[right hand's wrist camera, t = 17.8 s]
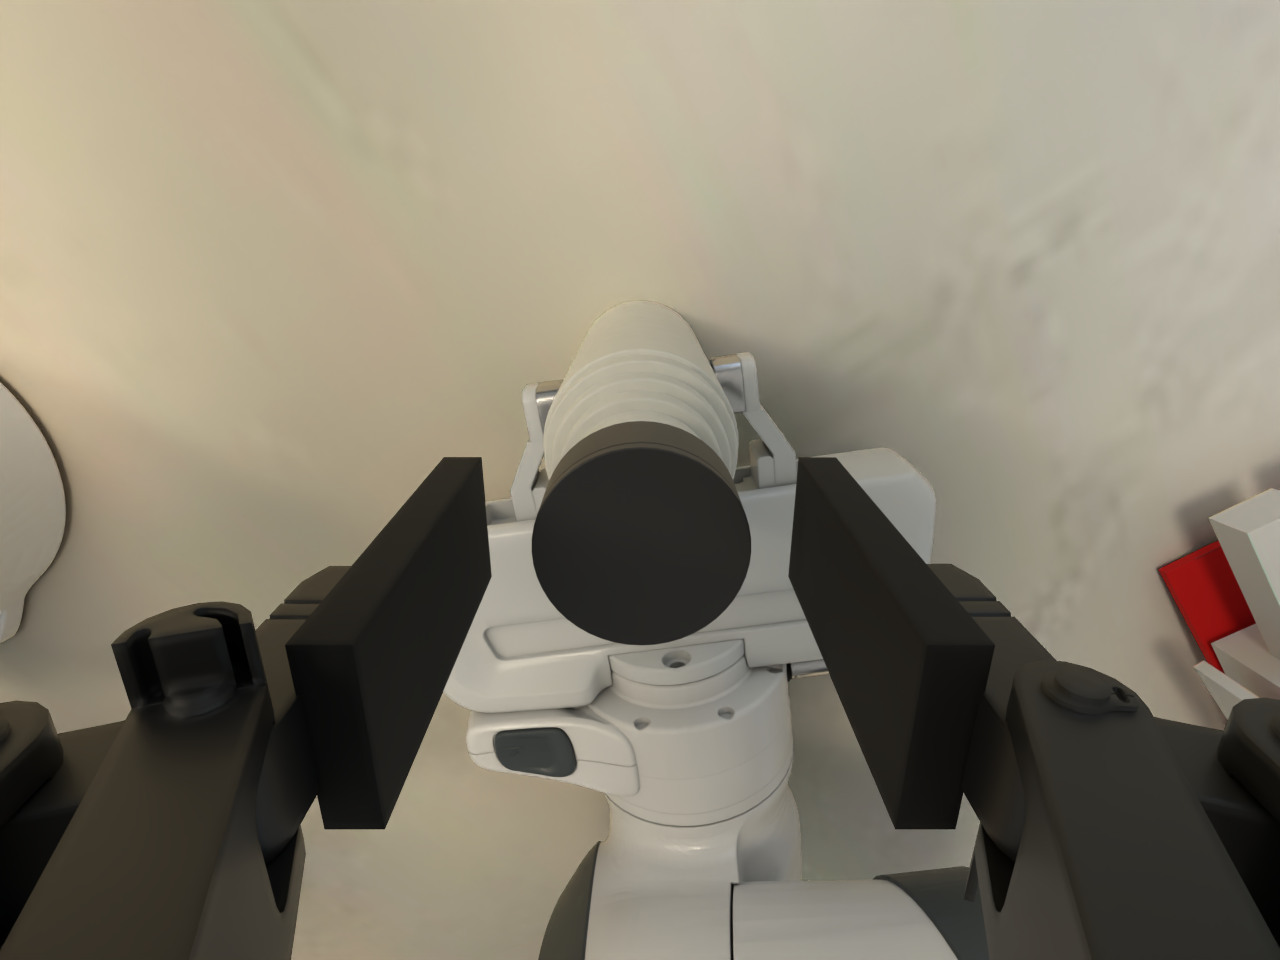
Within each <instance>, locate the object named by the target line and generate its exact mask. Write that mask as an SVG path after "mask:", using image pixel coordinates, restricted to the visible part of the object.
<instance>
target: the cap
mask: <svg viewBox="0 0 1280 960" xmlns="http://www.w3.org/2000/svg"><path fill="white" fill-rule="evenodd" d="M750 558H751V534H750V528H749V524H748V520H747V517H746V514H745V511H744V508H743V506H742V503H741V500H740V497H739V495H738V492H737V489H736V487H735V484H734V481H733V479H732V477H731V475H730V473H729V470H728V469H727V467H726V466H725V464H724V463H723V461H722V460H721V458H720V457H719V456H718V455H717V454H716V453H715V451H714V450H713V449H712V448H710V447H709V446H708V445H707V444H706V443H705V442H703V441H702V440H700V439H699V438H697V437H696V436H694V435H693V434H691V433H689V432H687V431H685V430H683V429H680V428H677V427H674V426H671V425H668V424H663V423H658V422H650V421H633V422H624V423H619V424H614V425H611V426H608V427H605V428H602V429H600V430H598V431H596V432H594V433H592V434H590V435H588V436H587V437H585V438H584V439H582V440H581V441H579V442H578V443H577V444H576V445H575V446H573V447H572V448H571V449H570V450H569V451H568V452H567V453H566V454H565V456H564V457H563V458H562V459H561V460H560V462H559V463H558V465H557V466H556V468H555V469H554V472H553V474H552V476H551V478H550V480H549V483H548V485H547V488H546V491H545V494H544V497H543V499H542V502H541V505H540V508H539V511H538V514H537V517H536V520H535V523H534V527H533V533H532V559H533V565H534V569H535V572H536V576H537V578H538V581H539V583H540V585H541V588H542V589H543V591H544V593H545V594H546V596H547V598H548V599H549V601H550V602H551V603H552V604H553V606H554V607H555V608H556V609H557V610H558V611H559V612H560V613H561V614H562V615H563V616H564V617H565V618H566V619H567V620H569V621H570V622H571V623H573V624H574V625H575V626H577V627H578V628H580V629H582V630H584V631H585V632H587V633H589V634H591V635H594V636H596V637H599V638H601V639H604V640H608V641H611V642H615V643H620V644H626V645H656V644H662V643H668V642H672V641H675V640H679V639H682V638H684V637H687V636H689V635H691V634H694V633H695V632H697V631H699V630H701V629H703V628H704V627H706V626H707V625H709V624H710V623H711V622H713V621H714V620H715V619H717V618H718V617H719V616H720V615H721V614H722V613H723V612H724V611H725V610H726V609H727V608H728V606H729V605H730V604H731V603H732V602H733V600H734V599H735V597H736V596H737V594H738V592H739V591H740V589H741V587H742V585H743V582H744V580H745V578H746V575H747V572H748V568H749V565H750Z"/></svg>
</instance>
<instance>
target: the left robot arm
mask: <svg viewBox="0 0 1280 960" xmlns="http://www.w3.org/2000/svg"><path fill="white" fill-rule="evenodd" d="M710 365H711V367H712V369H713V371H714V373H715V375H716V377H717V379H718V381H719V383H720V385H721V387H722V389H723V391H724V393H725V395H726V397H727V399H728V401H729V403H730V405H731V407H732V409H733V413H736V412H742V414H743V415H744V416H745V418H746V419H747V420H748V422H749V423H750V424H751V426H752V427H753V428H754V430H755V431H756V432H757V434H758V435H759V436H760V438H761V439H762V440H763V441H762V440H761V439H757V440H751V441H750V442H749V455H750V465H748V466H740V467H736V471H735V475H734V479H733V481H734V484H735V487H736V489H737V492H738V495H739V497H740V500H741V503H742V506H743V508H744V511H745V514H746V517H747V520H748V524H749V528H750V534H751V558H750V565H749V568H748V572H747V575H746V578H745V580H744V582H743V585H742V587H741V589H740V591H739V592H738V594H737V596H736V597H735V599H734V600H733V602H732V603H731V604H730V605H729V606H728V608H727V609H726V610H725V611H724V612H723V613H722V614H721V615H720V616H719V617H718V618H717V619H715V620H714V621H713V622H711V623H710V624H709V625H707V626H706V627H704V628H703V629H701V630H699V631H697V632H695V633H694V634H691V635H689V636H687V637H684V638H682V639H679V640H675V641H672V642H668V643H662V644H656V645H626V644H620V643H615V642H611V641H608V640H604V639H601V638H599V637H596V636H594V635H591V634H589V633H587V632H585V631H584V630H582V629H580V628H578V627H577V626H575V625H574V624H573V623H571V622H570V621H569V620H567V619H566V618H565V617H564V616H563V615H562V614H561V613H560V612H559V611H558V610H557V609H556V608H555V607H554V606H553V604H552V603H551V602H550V601H549V599H548V598H547V596H546V594H545V593H544V591H543V589H542V588H541V585H540V583H539V581H538V578H537V576H536V572H535V569H534V565H533V559H532V533H533V527H534V523H535V520H536V517H537V514H538V511H539V508H540V505H541V502H542V499H543V497H544V494H545V491H546V488H547V485H548V483H549V479H548V475H547V472H546V469H542V470H541V472H540V471H539V467H540V465H541V462H542V459H543V456H544V449H543V435H544V428H545V422H546V419H547V415H548V411H549V409H550V407H551V405H552V402H553V400H554V398H555V396H556V394H557V392H558V390H559V388H560V386H561V384H562V382H563V380H564V379H563V380H555V381H547V382H538V383H532V384H527V385H526V386H525V388H524V389H523V390H522V403H523V408H524V413H525V418H526V423H527V427H528V432H529V437H530V438H529V440H528V442H527V444H526V447H525V450H524V453H523V456H522V458H521V461H520V464H519V467H518V470H517V473H516V475H515V478H514V481H513V484H512V487H511V489H510V494H511V498H506V499H499V500H492V501H485V505H486V516H487V528H488V539H489V551H490V562H491V574H492V577H491V580H490V582H489V584H488V587H487V589H486V591H485V594H484V596H483V598H482V601H481V603H480V605H479V608H478V610H477V613H476V615H475V617H474V620H473V622H472V624H471V627H470V629H469V631H468V634H467V636H466V639H465V641H464V643H463V646H462V648H461V650H460V653H459V655H458V657H457V660H456V662H455V665H454V667H453V669H452V672H451V674H450V676H449V679H448V681H447V683H446V686H445V688H444V691H443V693H444V694H445V695H446V696H447V697H448V698H449V699H451V700H452V701H453V702H455V703H456V704H458V705H460V706H461V707H464V708H466V709H469V710H470V715H469V720H468V726H467V733H466V744H467V748H468V752H469V755H470V757H471V759H472V760H473V762H474V763H475V764H476V765H478V766H479V767H481V768H484V769H487V770H490V771H496V772H502V773H510V774H518V775H525V776H532V777H538V778H544V779H550V780H555V781H560V782H565V783H570V784H574V785H578V786H582V787H586V788H589V789H592V790H596V791H599V792H602V793H604V795H605V797H606V799H607V801H608V804H609V808H610V828H609V836H608V838H607V839H606V840H605V841H604V842H600V841H599V842H598V843H597V844H596V845H595V846H594V847H593V848H592V849H591V850H590V851H589V853H588V854H587V855H586V857H585V858H584V859H583V861H582V862H581V864H580V865H579V867H578V868H577V870H576V872H575V873H574V875H573V876H572V878H571V880H570V881H569V883H568V885H567V886H566V888H565V890H564V891H563V893H562V894H561V896H560V898H559V900H558V902H557V904H556V906H555V908H554V910H553V913H552V915H551V918H550V920H549V923H548V926H547V929H546V932H545V935H544V939H543V942H542V946H541V950H540V955H539V959H538V960H989V953H988V946H987V939H986V932H985V924H984V917H983V910H982V903H981V896H980V889H979V886H978V887H977V890H976V895H975V899H974V902H971V901H968V900H964V894H965V887H966V881H967V877H968V873H969V868H968V867H964V866H961V867H952V868H943V869H934V870H925V871H916V872H907V873H898V874H888V875H880V876H876V877H875V878H874V879H872V880H808V881H802V852H801V833H800V821H799V814H798V809H797V806H796V802H795V799H794V796H793V794H792V792H791V790H790V788H789V786H788V781H789V778H790V775H791V771H792V764H793V736H792V724H791V712H790V700H789V690H788V681H790V679H795V678H796V679H797V678H805V677H813V676H821V675H827V674H829V672H828V669H827V667H826V665H825V662H824V660H823V657H822V655H821V653H820V650H819V648H818V646H817V643H816V641H815V639H814V636H813V634H812V631H811V629H810V627H809V624H808V622H807V620H806V617H805V615H804V613H803V610H802V608H801V605H800V603H799V601H798V598H797V596H796V594H795V591H794V589H793V587H792V584H791V582H790V580H789V577H788V574H789V562H790V551H791V539H792V528H793V516H794V505H795V493H796V482H797V470H798V459H796V453H795V451H794V449H793V448H792V446H791V445H790V444H789V442H788V441H787V439H786V438H785V436H784V435H783V433H782V432H781V431H780V429H779V428H778V427H777V425H776V424H775V423H774V421H773V420H772V418H771V417H770V416H769V414H768V413H767V412H766V410H765V409H764V408H763V406H762V405H761V404H760V401H759V389H758V378H757V368H756V363H755V359H754V357H753V355H752V354H751V353H750V352H746V353H739V354H732V355H726V356H719V357H713V358H710ZM813 457H836V458H837V459H838V460H839V461H840V463H841V464H842V465H843V466H844V467H845V469H846V470H847V471H848V472H849V473H850V474H851V476H852V477H853V478H854V479H855V480H856V482H857V483H858V484H859V485H860V486H861V487H862V489H863V490H864V491H865V492H866V493H867V494H868V496H869V497H870V498H871V499H872V500H873V502H874V503H875V504H876V505H877V506H878V507H879V509H880V510H881V511H882V512H883V513H884V515H885V516H886V517H887V518H888V519H889V520H890V522H891V523H892V524H893V525H894V526H895V527H896V529H897V530H898V531H899V532H900V533H901V535H902V536H903V537H904V538H905V539H906V540H907V542H908V543H909V544H910V545H911V546H912V548H913V549H914V550H915V551H916V552H917V553H918V555H919V556H920V557H921V558H922V559H923V560H924V562H925V563H926V564H930V562H931V555H932V549H933V540H934V531H935V518H936V496H935V493H934V490H933V488H932V486H931V484H930V483H929V482H928V480H927V479H926V478H925V477H924V476H923V475H922V474H921V473H920V472H919V471H918V470H917V469H916V468H915V467H914V466H913V465H912V464H911V463H910V462H908V461H907V460H906V459H904V458H903V457H901V456H900V455H899V454H897V453H896V452H895V451H893V450H891V449H889V448H884V447H881V448H872V449H864V450H857V451H850V452H843V453H835V454H828V455H821V456H813ZM65 521H66V503H65V494H64V489H63V484H62V480H61V476H60V473H59V469H58V467H57V464H56V461H55V459H54V456H53V454H52V452H51V450H50V448H49V446H48V444H47V442H46V440H45V438H44V436H43V435H42V433H41V431H40V430H39V428H38V426H37V425H36V423H35V422H34V420H33V419H32V418H31V416H30V415H29V414H28V412H27V411H26V410H25V408H24V407H23V406H22V405H21V403H20V402H19V401H18V400H17V399H16V398H15V396H14V395H13V394H12V393H11V392H10V391H9V390H8V389H7V388H6V387H5V386H4V385H3V384H2V383H1V382H0V643H2V642H4V641H5V640H7V639H9V638H11V637H13V636H14V635H15V634H16V632H17V631H18V628H19V626H20V622H21V619H22V613H23V607H24V600H25V596H26V594H27V592H28V590H29V589H30V588H31V586H32V585H33V584H34V583H35V582H36V581H37V580H38V579H39V578H40V576H41V575H42V574H43V573H44V572H45V571H46V570H47V568H48V567H49V566H50V564H51V563H52V561H53V560H54V558H55V556H56V554H57V552H58V550H59V547H60V544H61V542H62V538H63V534H64V529H65Z"/></svg>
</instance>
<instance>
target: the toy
mask: <svg viewBox="0 0 1280 960" xmlns="http://www.w3.org/2000/svg"><path fill="white" fill-rule="evenodd" d="M1208 519H1209V521H1210V523H1211V525H1212V527H1213V530H1214V532H1215V534H1216V536H1217V538H1218V540H1217V541H1215V542H1213V543H1211V544H1209V545H1207V546H1205V547H1203V548H1201V549H1199V550H1197V551H1195V552H1193V553H1191V554H1189V555H1187V556H1185V557H1183V558H1181V559H1178V560H1176V561H1174V562H1172V563H1170V564H1168V565H1166V566H1164V567H1162V568H1160V569H1158V570H1159V572H1160V574H1161V576H1162V578H1163V579H1164V581H1165V583H1166V585H1167V587H1168V589H1169V591H1170V593H1171V594H1172V596H1173V598H1174V600H1175V602H1176V604H1177V606H1178V608H1179V610H1180V611H1181V613H1182V615H1183V617H1184V619H1185V621H1186V623H1187V625H1188V627H1189V628H1190V630H1191V632H1192V634H1193V636H1194V638H1195V640H1196V642H1197V644H1198V645H1199V647H1200V649H1201V651H1202V653H1203V655H1204V657H1205V659H1206V661H1207V662H1208V663H1207V662H1206V661H1204V660H1203V661H1202V662H1200V663H1198V664H1196V665H1195V666H1193V667H1194V669H1195V670H1196V672H1197V674H1198V675H1199V677H1200V678H1201V680H1202V681H1203V683H1204V684H1205V686H1206V688H1207V689H1208V691H1209V692H1210V694H1211V695H1212V697H1213V698H1214V700H1215V702H1216V703H1217V705H1218V706H1219V708H1220V709H1221V711H1222V712H1223V714H1224V716H1225V717H1226V719H1227V720H1228V718H1229V716H1230V713H1231V711H1232V708H1233V706H1235V705H1236V704H1238V703H1239V702H1241V701H1242V700H1244V699H1253V698H1271V699H1278V700H1280V491H1279V490H1276V489H1273V488H1270V489H1268V490H1266V491H1264V492H1262V493H1260V494H1257V495H1255V496H1253V497H1251V498H1249V499H1247V500H1245V501H1243V502H1241V503H1238V504H1236V505H1234V506H1232V507H1230V508H1228V509H1226V510H1224V511H1221V512H1219V513H1217V514H1215V515H1213V516H1211V517H1209V518H1208Z"/></svg>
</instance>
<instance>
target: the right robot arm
mask: <svg viewBox="0 0 1280 960" xmlns="http://www.w3.org/2000/svg"><path fill="white" fill-rule="evenodd" d="M491 577H492V574H491V562H490V551H489V539H488V528H487V516H486V505H485V493H484V482H483V470H482V459H481V457H444V458H443V459H442V460H441V461H440V463H439V464H438V465H437V466H436V467H435V469H434V470H433V471H432V472H431V473H430V474H429V476H428V477H427V478H426V479H425V480H424V482H423V483H422V484H421V485H420V486H419V487H418V489H417V490H416V491H415V492H414V493H413V494H412V496H411V497H410V498H409V499H408V500H407V502H406V503H405V504H404V505H403V506H402V507H401V509H400V510H399V511H398V512H397V513H396V515H395V516H394V517H393V518H392V519H391V520H390V522H389V523H388V524H387V525H386V526H385V527H384V529H383V530H382V531H381V532H380V533H379V535H378V536H377V537H376V538H375V539H374V540H373V542H372V543H371V544H370V545H369V546H368V548H367V549H366V550H365V551H364V552H363V553H362V555H361V556H360V557H359V558H358V559H357V560H356V562H355V563H354V564H353V565H352V566H329V567H327V568H325V569H324V570H322V571H320V572H318V573H317V574H315V575H313V576H311V577H309V578H308V579H306V580H304V581H302V582H301V583H300V584H299V585H298V586H297V587H296V589H295V590H294V591H293V592H292V593H291V594H290V595H289V596H288V597H287V598H286V599H285V600H284V601H285V602H284V604H280V605H279V606H278V607H277V608H276V610H275V611H274V612H273V613H272V614H271V615H270V619H266V620H265V621H264V622H263V623H262V624H261V625H260V626H259V627H258V628H257V630H256V631H255V628H254V623H253V619H252V615H251V612H250V611H249V610H248V609H246V608H245V607H243V606H242V605H240V604H234V603H228V602H208V603H197V604H193V605H188V606H184V607H179V608H175V609H171V610H169V611H166V612H163V613H161V614H158V615H155V616H152V617H150V618H147V619H145V620H144V621H142V622H140V623H138V624H137V625H135V626H133V627H131V628H130V629H128V630H126V631H125V632H124V633H123V634H122V635H121V636H119V637H118V638H117V639H116V640H115V641H114V642H113V643H112V644H111V646H112V649H113V652H114V655H115V658H116V661H117V665H118V668H119V671H120V674H121V677H122V680H123V683H124V686H125V689H126V692H127V696H128V699H129V702H130V705H131V708H132V709H131V711H130V713H129V715H128V717H127V718H126V720H125V721H121V722H116V723H111V724H106V725H101V726H96V727H91V728H86V729H81V730H75V731H70V732H65V733H60V734H57V732H56V729H55V726H54V724H53V721H52V719H51V716H50V713H49V711H48V709H46V708H45V707H43V706H42V705H40V704H39V703H37V702H25V701H12V702H5V703H0V960H291V955H292V948H293V941H294V933H295V926H296V919H297V912H298V905H299V898H300V891H301V884H302V877H303V870H304V863H305V855H306V853H305V845H304V838H303V834H302V830H301V825H300V824H301V822H302V820H303V819H304V817H305V815H306V813H307V812H308V810H309V808H310V806H311V804H312V803H313V801H314V799H315V797H316V796H318V801H319V805H320V810H321V815H322V819H323V824H324V828H325V829H385V828H386V825H387V823H388V820H389V818H390V816H391V813H392V811H393V809H394V806H395V804H396V802H397V799H398V797H399V794H400V792H401V790H402V787H403V785H404V783H405V780H406V778H407V776H408V773H409V771H410V768H411V766H412V764H413V761H414V759H415V757H416V754H417V752H418V750H419V747H420V745H421V742H422V740H423V738H424V735H425V733H426V731H427V728H428V726H429V724H430V721H431V719H432V717H433V714H434V712H435V709H436V707H437V705H438V702H439V700H440V698H441V695H442V693H443V691H444V688H445V686H446V683H447V681H448V679H449V676H450V674H451V672H452V669H453V667H454V665H455V662H456V660H457V657H458V655H459V653H460V650H461V648H462V646H463V643H464V641H465V639H466V636H467V634H468V631H469V629H470V627H471V624H472V622H473V620H474V617H475V615H476V613H477V610H478V608H479V605H480V603H481V601H482V598H483V596H484V594H485V591H486V589H487V587H488V584H489V582H490V580H491ZM788 577H789V580H790V582H791V584H792V587H793V589H794V591H795V594H796V596H797V598H798V601H799V603H800V605H801V608H802V610H803V613H804V615H805V617H806V620H807V622H808V624H809V627H810V629H811V631H812V634H813V636H814V639H815V641H816V643H817V646H818V648H819V650H820V653H821V655H822V657H823V660H824V662H825V665H826V667H827V669H828V672H829V674H830V676H831V679H832V681H833V683H834V686H835V688H836V691H837V693H838V695H839V698H840V700H841V702H842V705H843V707H844V709H845V712H846V714H847V717H848V719H849V721H850V724H851V726H852V728H853V731H854V733H855V735H856V738H857V740H858V742H859V745H860V747H861V750H862V752H863V754H864V757H865V759H866V761H867V764H868V766H869V768H870V771H871V773H872V776H873V778H874V780H875V783H876V785H877V787H878V790H879V792H880V794H881V797H882V799H883V802H884V804H885V806H886V809H887V811H888V813H889V816H890V818H891V820H892V823H893V825H894V828H895V829H955V828H956V824H957V819H958V815H959V810H960V805H961V801H962V796H963V792H964V794H965V796H966V797H967V799H968V801H969V803H970V804H971V806H972V808H973V810H974V811H975V813H976V815H977V817H978V818H979V820H980V825H979V830H978V834H977V838H976V843H975V847H974V851H973V856H972V860H971V864H970V868H969V873H968V877H967V881H966V887H965V894H964V900H968V901H971V902H974V899H975V895H976V890H977V887H978V886H979V889H980V896H981V903H982V910H983V917H984V924H985V932H986V939H987V946H988V953H989V960H1280V700H1278V699H1271V698H1253V699H1244V700H1242V701H1241V702H1239V703H1238V704H1236V705H1235V706H1233V708H1232V711H1231V713H1230V716H1229V718H1228V721H1227V724H1226V726H1225V729H1224V731H1221V730H1216V729H1211V728H1206V727H1201V726H1196V725H1191V724H1186V723H1180V722H1175V721H1170V720H1165V719H1160V718H1156V717H1153V715H1152V713H1151V712H1150V710H1149V708H1148V707H1147V706H1146V704H1145V703H1144V702H1143V701H1142V700H1141V699H1140V697H1139V696H1138V695H1137V694H1136V693H1135V692H1134V691H1132V690H1131V689H1129V688H1128V687H1126V686H1125V685H1123V684H1122V683H1120V682H1119V681H1117V680H1116V679H1114V678H1112V677H1109V676H1107V675H1105V674H1103V673H1100V672H1098V671H1096V670H1093V669H1091V668H1088V667H1084V666H1080V665H1076V664H1072V663H1068V662H1062V661H1056V660H1055V659H1054V658H1053V657H1052V655H1051V654H1050V653H1049V652H1048V651H1047V650H1046V649H1045V648H1044V647H1043V646H1042V645H1041V644H1040V643H1039V642H1038V641H1037V640H1036V639H1035V638H1034V637H1033V636H1032V635H1031V634H1030V633H1029V632H1028V630H1027V629H1026V628H1025V627H1024V626H1023V625H1022V624H1021V623H1020V622H1019V621H1018V620H1017V619H1016V618H1015V617H1011V613H1010V612H1009V611H1008V610H1007V609H1006V608H1005V606H1004V605H1003V604H1002V603H1001V602H1000V601H996V597H995V596H994V595H993V594H992V593H991V592H990V591H989V590H988V589H987V588H986V587H985V586H984V585H983V584H982V582H981V581H980V580H979V579H977V578H975V577H973V576H972V575H970V574H968V573H966V572H964V571H963V570H961V569H959V568H957V567H956V566H954V565H952V564H926V563H925V562H924V560H923V559H922V558H921V557H920V556H919V555H918V553H917V552H916V551H915V550H914V549H913V548H912V546H911V545H910V544H909V543H908V542H907V540H906V539H905V538H904V537H903V536H902V535H901V533H900V532H899V531H898V530H897V529H896V527H895V526H894V525H893V524H892V523H891V522H890V520H889V519H888V518H887V517H886V516H885V515H884V513H883V512H882V511H881V510H880V509H879V507H878V506H877V505H876V504H875V503H874V502H873V500H872V499H871V498H870V497H869V496H868V494H867V493H866V492H865V491H864V490H863V489H862V487H861V486H860V485H859V484H858V483H857V482H856V480H855V479H854V478H853V477H852V476H851V474H850V473H849V472H848V471H847V470H846V469H845V467H844V466H843V465H842V464H841V463H840V461H839V460H838V459H837V458H836V457H799V459H798V470H797V482H796V493H795V505H794V516H793V528H792V539H791V551H790V562H789V574H788Z"/></svg>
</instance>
